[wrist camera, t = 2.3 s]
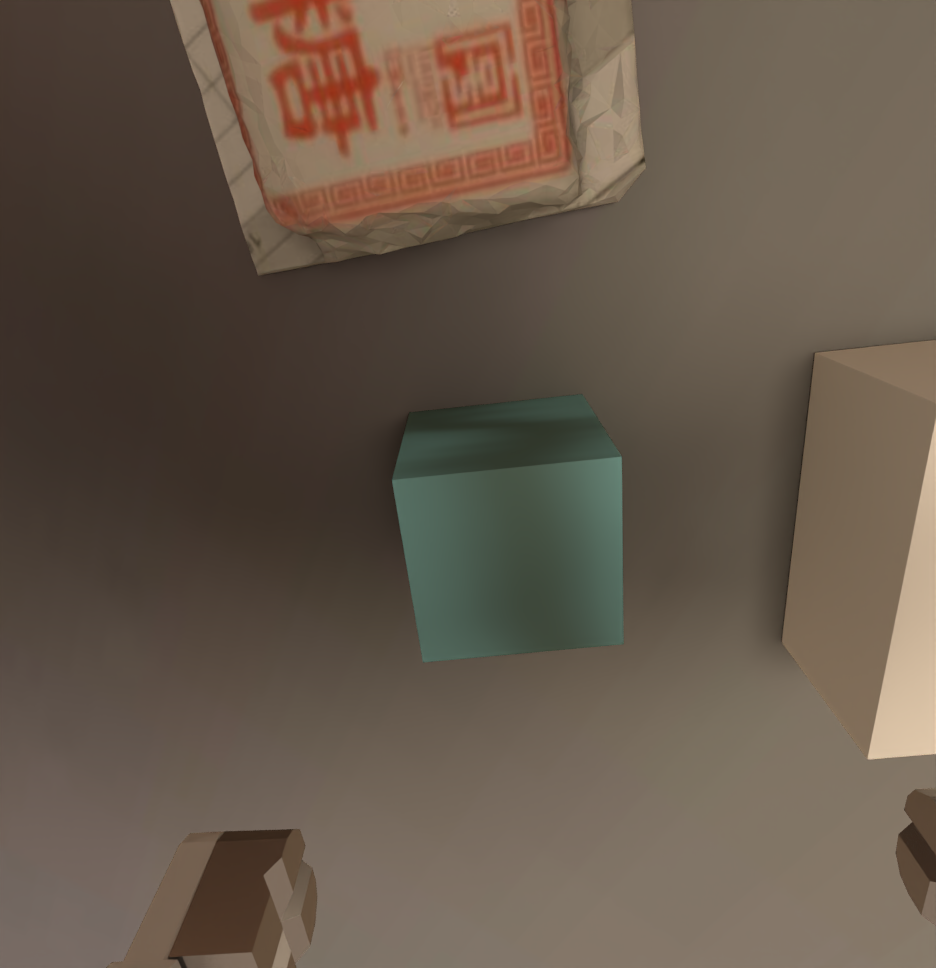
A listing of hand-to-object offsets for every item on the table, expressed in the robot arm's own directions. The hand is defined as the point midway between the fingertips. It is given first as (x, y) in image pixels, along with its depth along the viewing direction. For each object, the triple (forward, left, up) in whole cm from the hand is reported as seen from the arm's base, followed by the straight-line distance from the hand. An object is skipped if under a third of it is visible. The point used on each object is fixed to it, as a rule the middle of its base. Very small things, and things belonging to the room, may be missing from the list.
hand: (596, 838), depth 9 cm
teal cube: (-1, 0, -12) cm, 12 cm away
